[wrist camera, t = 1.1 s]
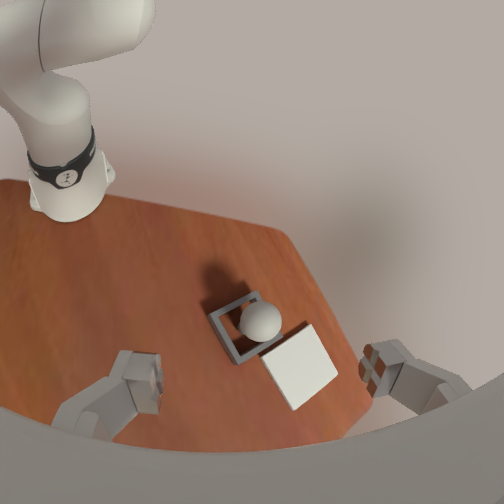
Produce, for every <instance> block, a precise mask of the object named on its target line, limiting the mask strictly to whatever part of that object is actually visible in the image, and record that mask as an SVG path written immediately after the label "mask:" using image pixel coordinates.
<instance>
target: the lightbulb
mask: <svg viewBox="0 0 504 504" xmlns="http://www.w3.org/2000/svg"><path fill="white" fill-rule="evenodd" d="M281 324H282V319H281V315H280V312H279V311H278V309H277V308H276V307H275V306H274V305H272V304H271V303H268V302H265V301H257V302H254V303H251V304H250V305H248V306H247V307H246V308H245V309H244V311H243V312H242V315H241V318H240V323H239V324H238V331H239V332H240V333H241V334H243V335H246V336H247V337H248V338H250V339H251V340H254V341H257V342H265V341H269V340H271V339H272V338H274V337H275V336H276V335H277V334H278V332H279V330H280V328H281Z"/></svg>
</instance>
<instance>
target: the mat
mask: <svg viewBox="0 0 504 504" xmlns="http://www.w3.org/2000/svg"><path fill="white" fill-rule="evenodd" d="M260 359H261V361H262V362H263V364H264V366H265V367H266V369H267V371H268V372H269V374H270V376H271V377H272V379H273V381H274V382H275V384H276V386H277V387H278V389H279V391H280V392H281V394H282V396H283V397H284V399H285V401H286V402H287V404H288V405H289V407H290V409H291V410H295V409H297V408H298V407H299V406H301V405H302V404H303V403H304V402H306V401H307V400H308V399H309V398H311V397H312V396H313V395H314V394H316V393H317V392H318V391H319V390H320V389H322V388H323V387H324V386H325V385H326V384H328V383H329V382H330V381H331V380H332V379H333V378H334V377H336V376H337V375H338V372H337V370H336V369H335V367H334V365H333V363H332V361H331V359H330V358H329V356H328V354H327V352H326V350H325V348H324V347H323V345H322V343H321V341H320V339H319V338H318V336H317V334H316V332H315V330H314V329H313V327H312V325H311V324H310V325H307V326H306V327H305V328H303V329H302V330H300V331H299V332H297V333H296V334H294V335H293V336H292V337H290V338H289V339H287V340H286V341H284V342H283V343H281V344H280V345H278V346H277V347H275V348H274V349H272V350H270V351H269V352H267V353H266V354H264V355H263V356H261V357H260Z"/></svg>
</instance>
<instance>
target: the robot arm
mask: <svg viewBox="0 0 504 504" xmlns="http://www.w3.org/2000/svg"><path fill="white" fill-rule="evenodd" d="M155 12H156V6H155V0H17V1H14V2H11V3H8V4H6V5H3V6H1V7H0V106H1V107H2V108H4V109H5V110H6V111H7V112H8V113H9V114H10V115H11V116H12V117H13V118H14V120H15V121H16V123H17V124H18V127H19V129H20V131H21V134H22V136H23V139H24V141H25V143H26V146H27V149H28V150H27V156H28V160H29V167H30V168H31V170H29V171H28V175H29V177H30V178H29V184H30V187H31V197H30V206H31V208H32V209H33V210H35V211H40V212H43V213H45V214H46V215H47V216H48V217H50V218H51V219H53V220H56V221H60V222H71V221H76V220H79V219H81V218H83V217H85V216H87V215H88V214H90V213H91V212H92V211H93V210H94V209H95V208H96V207H97V206H98V205H99V204H100V202H101V201H102V199H103V197H104V194H105V191H106V189H107V187H108V186H109V185H110V184H111V183H112V181H113V180H114V179H115V177H116V175H115V171H114V169H113V168H112V166H111V165H110V163H109V161H108V160H107V158H106V157H105V154H104V152H103V151H102V150H101V148H100V147H99V145H98V144H97V142H96V139H95V133H94V129H93V127H92V125H91V115H90V98H89V94H88V92H87V90H86V89H85V88H84V86H83V85H82V84H81V83H80V82H78V81H77V80H75V79H73V78H70V77H66V76H62V75H59V74H56V73H54V72H53V71H51V70H54V69H58V68H63V67H66V66H72V65H76V64H81V63H87V62H93V61H98V60H101V59H104V58H107V57H111V56H114V55H117V54H121V53H124V52H127V51H130V50H133V49H134V48H136V47H137V46H138V45H139V44H140V43H141V42H142V40H143V39H144V38H145V37H146V35H147V34H148V32H149V30H150V29H151V27H152V24H153V22H154V18H155ZM107 171H108V172H107ZM363 353H364V355H365V356H364V357H363V358H362V359H361V360H360V363H359V366H358V367H359V375H360V378H361V380H362V381H363V382H365V383H367V387H366V388H367V390H368V391H369V393H370V395H371V397H372V398H376V397H381V396H385V395H389V394H390V396H391V397H392V398H394V399H395V400H397V401H398V402H400V403H401V404H403V405H405V406H406V407H407V408H409V409H410V410H412V411H414V412H415V413H416V414H418V415H419V416H416V417H413V418H411V419H408V420H405V421H402V422H399V423H396V424H394V425H390V426H387V427H384V428H381V429H378V430H374V431H371V432H367V433H363V434H360V435H356V436H352V437H348V438H343V439H339V440H334V441H329V442H324V443H319V444H313V445H307V446H300V447H293V448H285V449H277V450H266V451H252V452H226V453H209V452H183V451H170V450H159V449H150V448H143V447H136V446H129V445H123V444H118V443H113V441H112V438H113V437H115V436H116V435H117V434H118V433H119V432H120V431H121V430H122V429H123V428H124V427H125V426H126V425H127V424H128V423H129V422H130V421H131V420H132V419H133V418H134V417H135V416H136V415H137V414H138V413H149V414H159V412H160V407H161V398H160V395H161V394H162V393H163V391H164V374H163V370H162V369H161V368H160V364H161V359H160V355H159V354H158V353H149V352H138V351H127V350H121V351H120V352H119V354H118V356H117V358H116V360H115V363H114V365H113V367H112V370H111V372H110V374H109V377H103V378H102V379H100V380H99V381H97V382H96V383H94V384H92V385H91V386H89V387H88V388H86V389H84V390H83V391H81V392H80V393H78V394H76V395H75V396H73V397H71V398H70V399H68V400H67V401H65V402H63V403H62V404H61V405H60V407H59V409H58V412H57V414H56V416H55V418H54V420H53V422H52V424H51V426H49V425H46V424H43V423H40V422H38V421H35V420H32V419H30V418H27V417H25V416H22V415H20V414H17V413H15V412H13V411H11V410H8V409H6V408H4V407H2V406H0V504H504V373H502V374H501V375H499V376H498V377H496V378H494V379H493V380H491V381H490V382H488V383H486V384H484V385H482V386H481V387H479V388H477V389H475V390H472V389H471V388H470V387H469V386H468V384H467V383H466V382H465V381H464V380H463V379H462V378H461V377H460V376H459V375H456V374H454V373H452V372H449V371H447V370H444V369H442V368H440V367H437V366H434V365H432V364H430V363H427V362H425V361H422V360H420V359H415V358H414V356H413V355H412V354H411V353H410V352H409V351H408V350H407V348H406V347H405V346H404V345H403V344H402V343H401V342H400V341H399V340H398V339H392V340H387V341H383V342H377V343H371V344H367V345H366V346H365V347H364V351H363ZM137 412H138V413H137Z"/></svg>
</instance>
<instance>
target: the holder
mask: <svg viewBox="0 0 504 504" xmlns="http://www.w3.org/2000/svg"><path fill="white" fill-rule="evenodd" d="M248 301H251V303H254V302H257V301H263V300H262V298H261V296H260V294H259V293H258V291H257V290H255V291H253V292H251V293H250V294H248V295H246V296H244V297H242V298H240V299H238V300H236V301H234V302H232V303H230V304H228V305H226V306H224V307H222V308H220V309H218V310H216V311H214V312H212V313H210V314H209V315H208V316H207V318H208V320H209V322H210V324H211V326H212V327H213V329H214V331H215V333H216V335H217V336H218V338H219V340H220V342H221V344H222V345H223V347H224V349H225V351H226V352H227V354H228V356H229V358H230V359H231V361H232V363H233V364H234V365H239V364H241V363H243V362H244V361H246V360H248V359H249V358H251V357H253V356H254V355H256V354H257V353H259V352H261V351H262V350H264V349H265V348H267V347H269V346H270V345H272V344H273V343H275V342H276V341H278V340H279V339H281V338H282V337H283V335H282V334H281V332H280V330H279V332H278V334H277V335H276V336H275V337H274V338H272V339H271V340H269V341H265V342H260V343H259V344H257V345H255V346H254V347H252V348H250V349H249V350H247V351H245V352H244V353H242V354H240V355H239V353H238V351H237V350H236V348H235V346H234V344H233V343H232V341H231V339H230V337H229V336H228V334H227V332H226V330H225V328H224V327H223V325H222V323H221V321H220V319H219V318H218V317H219V316H221V315H223V314H225V313H227V312H229V311H231V310H233V309H234V308H236V307H238V306H240V305H242V304H244V303H246V302H248Z"/></svg>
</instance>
